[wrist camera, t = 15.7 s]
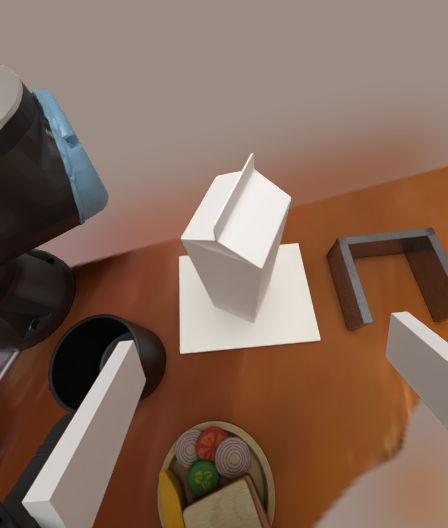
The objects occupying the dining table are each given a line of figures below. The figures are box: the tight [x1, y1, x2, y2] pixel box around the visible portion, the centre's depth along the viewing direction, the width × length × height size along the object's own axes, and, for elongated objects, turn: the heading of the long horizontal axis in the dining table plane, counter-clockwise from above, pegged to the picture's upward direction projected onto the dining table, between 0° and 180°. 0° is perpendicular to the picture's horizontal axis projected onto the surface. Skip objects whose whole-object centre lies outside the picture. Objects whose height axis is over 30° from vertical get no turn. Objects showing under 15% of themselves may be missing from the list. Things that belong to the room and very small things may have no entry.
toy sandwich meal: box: [158, 421, 275, 528], centre depth 25 cm, size 12×14×5 cm
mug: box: [48, 314, 166, 413], centre depth 29 cm, size 9×12×9 cm
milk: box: [181, 153, 291, 323], centre depth 24 cm, size 6×6×22 cm
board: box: [179, 243, 321, 354], centre depth 35 cm, size 18×14×1 cm
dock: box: [327, 228, 448, 330], centre depth 32 cm, size 12×11×5 cm
